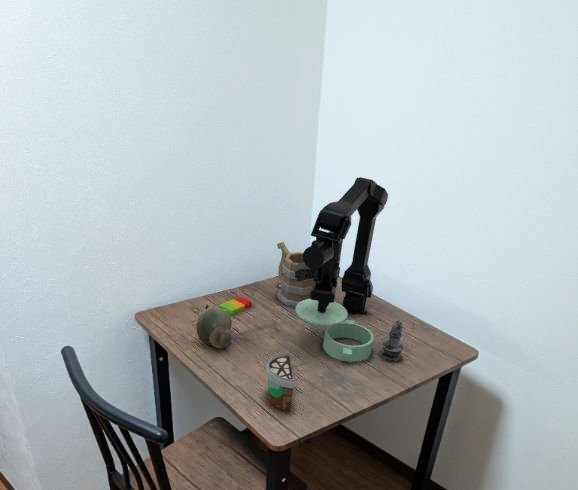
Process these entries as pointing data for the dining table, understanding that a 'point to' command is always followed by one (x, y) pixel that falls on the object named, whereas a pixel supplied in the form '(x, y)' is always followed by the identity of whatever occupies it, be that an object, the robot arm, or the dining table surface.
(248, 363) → the dining table surface
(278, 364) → the food container
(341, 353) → the pot
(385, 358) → the dark grey tall piece
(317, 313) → the pot lid
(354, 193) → the robot arm
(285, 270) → the tankard
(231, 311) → the popsicle
